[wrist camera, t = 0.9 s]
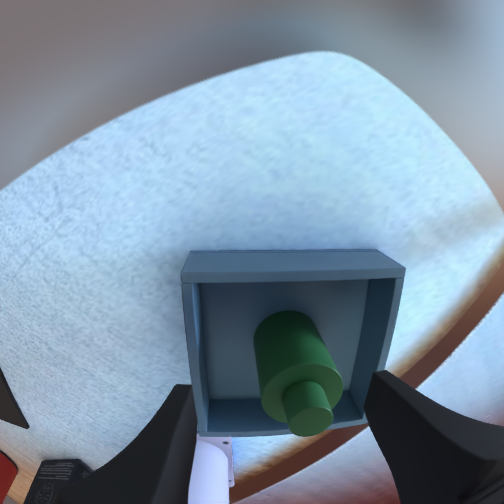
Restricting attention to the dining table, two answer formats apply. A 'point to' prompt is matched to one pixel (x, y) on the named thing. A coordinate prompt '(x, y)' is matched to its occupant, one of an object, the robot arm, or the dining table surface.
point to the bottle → (296, 373)
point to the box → (54, 479)
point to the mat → (10, 406)
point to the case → (275, 300)
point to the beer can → (6, 475)
